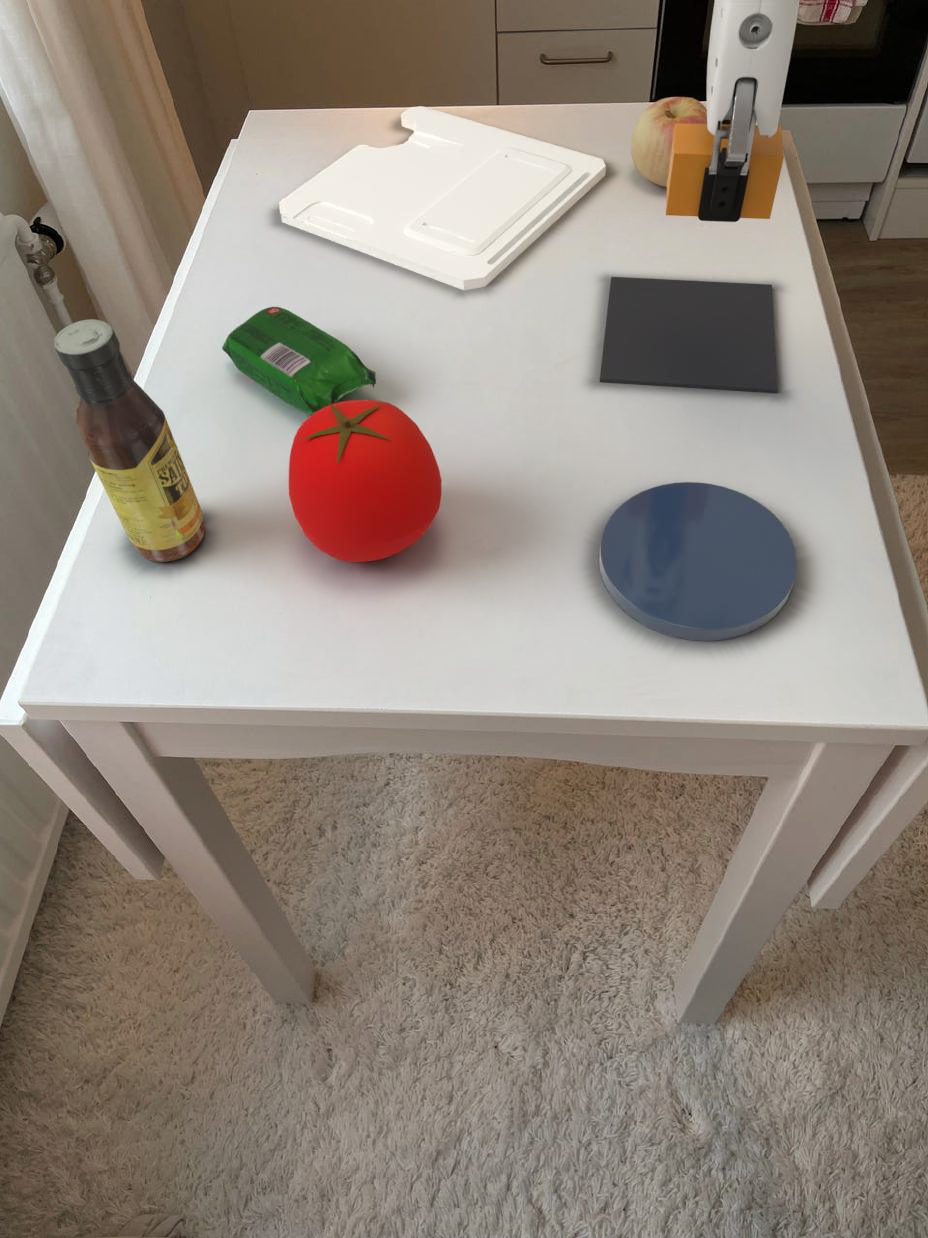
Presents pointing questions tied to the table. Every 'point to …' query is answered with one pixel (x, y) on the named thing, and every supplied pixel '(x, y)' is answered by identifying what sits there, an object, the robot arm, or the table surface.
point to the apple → (662, 134)
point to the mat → (690, 335)
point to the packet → (695, 156)
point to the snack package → (296, 360)
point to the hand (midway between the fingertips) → (718, 198)
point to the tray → (444, 197)
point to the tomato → (363, 480)
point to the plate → (697, 561)
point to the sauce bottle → (130, 445)
